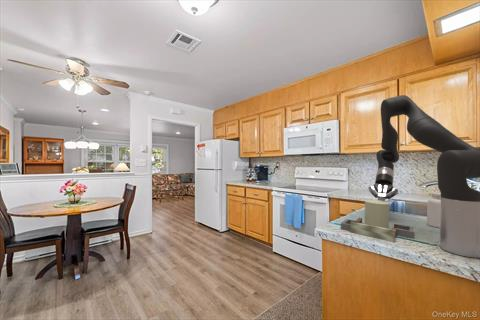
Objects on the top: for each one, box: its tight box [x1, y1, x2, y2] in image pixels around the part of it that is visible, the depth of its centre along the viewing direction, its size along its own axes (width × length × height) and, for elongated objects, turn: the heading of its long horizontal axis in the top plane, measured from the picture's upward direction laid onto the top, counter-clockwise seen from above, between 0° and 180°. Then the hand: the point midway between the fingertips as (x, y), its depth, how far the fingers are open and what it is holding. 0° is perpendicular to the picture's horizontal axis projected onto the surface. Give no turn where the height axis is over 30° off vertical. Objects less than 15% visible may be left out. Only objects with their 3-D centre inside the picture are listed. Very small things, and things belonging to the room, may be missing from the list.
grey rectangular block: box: [364, 199, 390, 229], centre depth 89 cm, size 9×9×12 cm
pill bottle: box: [426, 192, 441, 229], centre depth 93 cm, size 8×8×15 cm
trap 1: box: [340, 218, 357, 232], centre depth 89 cm, size 4×9×2 cm, turn 139°
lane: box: [349, 217, 399, 243], centre depth 85 cm, size 14×17×4 cm
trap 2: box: [396, 223, 415, 239], centre depth 82 cm, size 5×8×2 cm, turn 139°
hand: (380, 204), depth 99 cm, fingers closed
